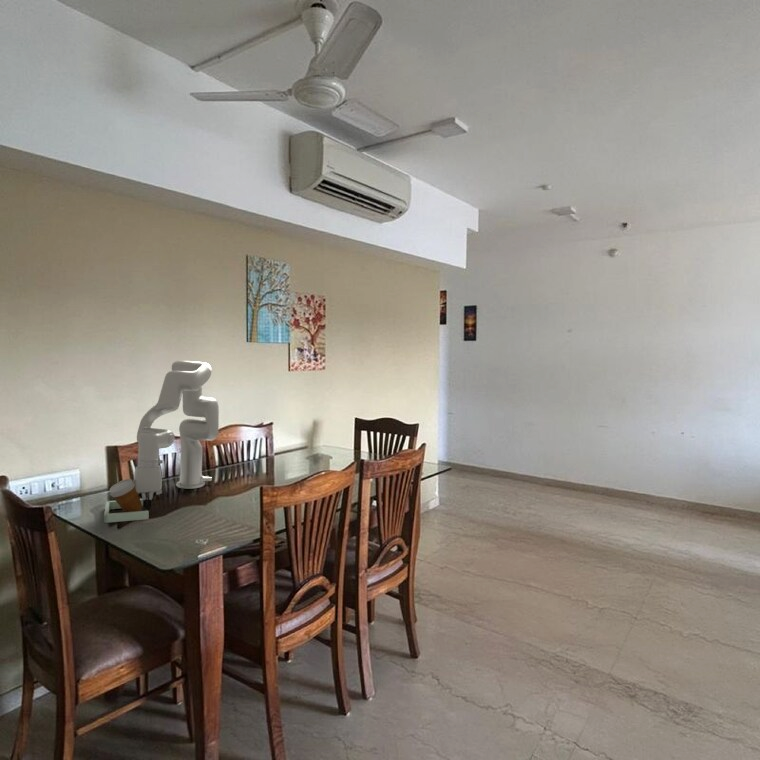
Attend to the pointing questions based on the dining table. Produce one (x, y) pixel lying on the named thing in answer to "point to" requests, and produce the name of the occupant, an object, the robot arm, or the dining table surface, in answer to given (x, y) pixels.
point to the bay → (125, 515)
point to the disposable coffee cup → (126, 495)
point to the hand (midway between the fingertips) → (147, 508)
